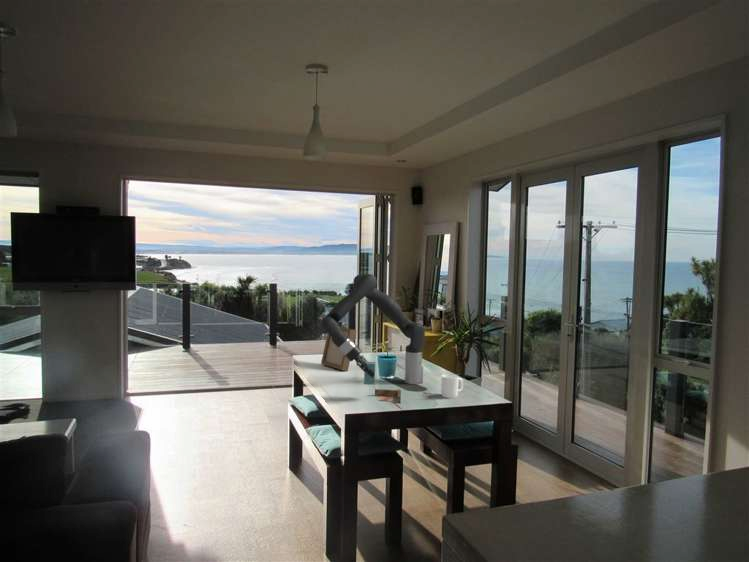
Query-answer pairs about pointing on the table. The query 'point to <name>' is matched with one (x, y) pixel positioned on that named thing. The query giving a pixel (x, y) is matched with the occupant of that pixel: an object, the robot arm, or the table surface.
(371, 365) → the teal block
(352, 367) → the table surface
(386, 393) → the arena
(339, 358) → the photo frame
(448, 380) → the cup
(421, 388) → the table surface
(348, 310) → the robot arm
